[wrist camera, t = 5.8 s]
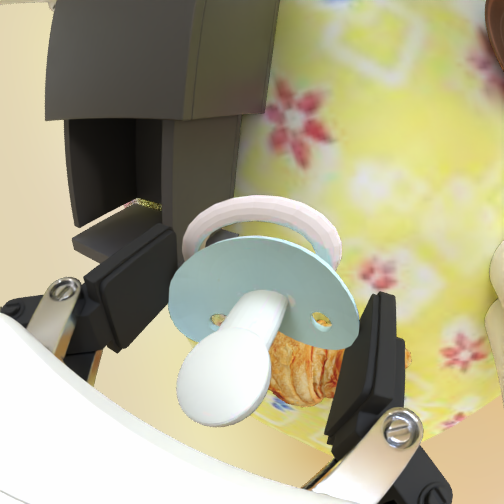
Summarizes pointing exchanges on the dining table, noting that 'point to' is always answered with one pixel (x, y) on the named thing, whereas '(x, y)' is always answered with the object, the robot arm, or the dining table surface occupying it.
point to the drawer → (147, 176)
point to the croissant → (305, 370)
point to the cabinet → (159, 58)
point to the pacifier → (253, 303)
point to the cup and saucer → (496, 27)
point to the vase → (497, 314)
